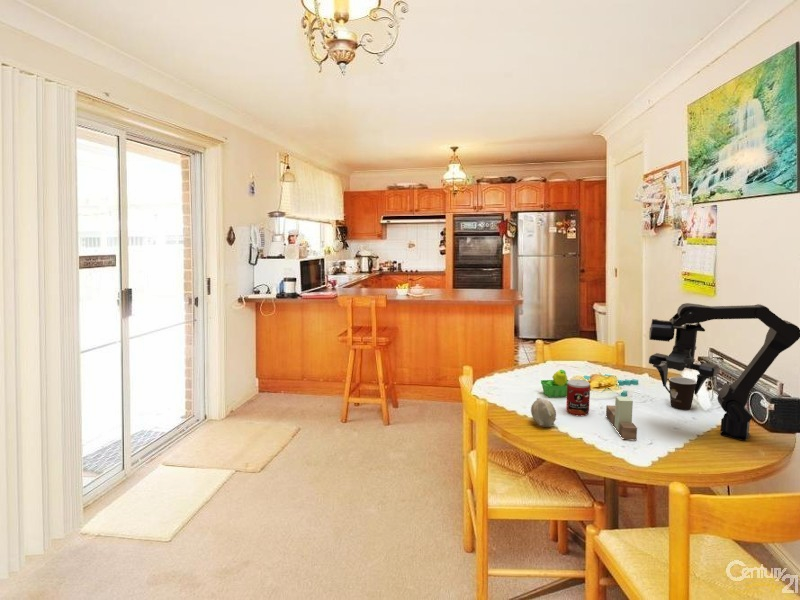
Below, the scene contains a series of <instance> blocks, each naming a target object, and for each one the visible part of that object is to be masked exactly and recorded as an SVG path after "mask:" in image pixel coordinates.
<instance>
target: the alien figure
mask: <svg viewBox="0 0 800 600" xmlns="http://www.w3.org/2000/svg"><path fill="white" fill-rule="evenodd" d="M603 376H613V375H611V374H604V375H603ZM614 376H615V377H616V378H617V376H616V375H614ZM582 377H584V378H585V379H587V380H589V378H590V377H591V375H583V376H582ZM617 381H618V383H619V385H618V386H620V387H621V386H622V387H624V385H625V386H631V385H633V386H638V385H639V379H635V378H632V379H624V380H622V379H618V380H617ZM620 397H628V391H627V390H623V392H622V393H621V396H620Z"/></svg>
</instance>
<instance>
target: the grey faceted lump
mask: <svg viewBox="0 0 800 600" xmlns="http://www.w3.org/2000/svg"><path fill="white" fill-rule="evenodd" d="M530 413H531V416H532V419H534V421H535V423H536V424H537V425H538V426H540V427H546V428H550V427H551V428H552V427H553V426H556V424H555V422H556V419H557V418H556V417H557V411H556V409H555V407H554V404H553V403H552V402H551V401H550V400H548V399H545V398H540V397H537V398H536V400H535V401H533V403H532V405H531V407H530Z"/></svg>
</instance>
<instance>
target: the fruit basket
mask: <svg viewBox="0 0 800 600" xmlns="http://www.w3.org/2000/svg"><path fill="white" fill-rule="evenodd" d="M569 380H570V379H568V376H567V373H566V370H564V369H559V370H558V371H555V373H553V375H552V379H546V380H545V379H544V380H543V379H542V380H540V384H541V386H542V392H543V394H545V396H546V397H548V398H563V397H562V396H567V382H568V381H569Z"/></svg>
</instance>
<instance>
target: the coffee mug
mask: <svg viewBox="0 0 800 600" xmlns="http://www.w3.org/2000/svg"><path fill="white" fill-rule="evenodd" d="M667 381H668V384H669V388H668V386H667V385H666V386H665V387H664V388H665V389H666V391H667V392H668V393H669V398H670V402H669V403H670V407H671V408H673V409H675V410H681V411H690V410H691V409H692V405H693V400H694V395H695V387H696V382H697V380H695V379H692V378H688V377H683V376H672V377H671V376H670V377H669V378H667Z"/></svg>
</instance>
